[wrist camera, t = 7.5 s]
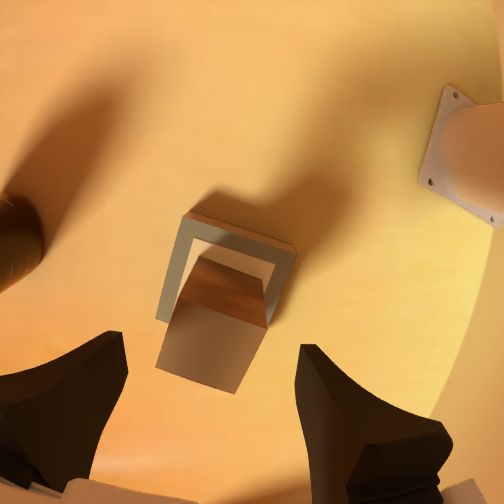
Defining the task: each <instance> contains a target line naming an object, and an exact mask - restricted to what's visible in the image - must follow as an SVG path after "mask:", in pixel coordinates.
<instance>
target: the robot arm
mask: <svg viewBox="0 0 504 504" xmlns="http://www.w3.org/2000/svg"><path fill="white" fill-rule="evenodd" d="M453 93H454V94H455V96H456V98H454V96H453ZM429 179H431V181H432V182H431V185H429V183H428V180H429ZM418 182H419V184H420V185H421V186H423V187H425V188H427V189H429V190H431V191H433V192H434V193H436V194H438V195H440V196H442V197H444V198H445V199H447V200H449V201H451V202H452V203H454V204H456V205H458V206H459V207H461V208H463V209H464V210H466V211H468V212H469V213H471V214H473V215H474V216H476V217H478V218H479V219H481V220H482V221H484V222H486V223H487V224H489V225H490V226H492V227H493V228H495V229H498V230H499V229H501V227H502V226H503V223H504V102H500V103H493V104H486V105H479V106H478V105H477V104H476V103H474V102H473V101H472V100H470V99H469V98H468V97H466V96H465V95H464V94H462V93H461V92H459V91H458V90H456V89H455V88H454V87H452V86H450V85H448V86H445V87H444V88H443V92H442V96H441V100H440V104H439V108H438V111H437V115H436V119H435V122H434V126H433V130H432V133H431V136H430V140H429V143H428V146H427V150H426V153H425V156H424V159H423V162H422V165H421V168H420V171H419V174H418ZM491 217H492V220H491ZM127 375H128V367H127V361H126V355H125V349H124V342H123V336H122V332H117V331H107V332H104V333H102V334H101V335H99V336H97V337H95V338H94V339H92V340H90V341H88V342H87V343H85V344H83V345H81V346H80V347H78V348H76V349H74V350H72V351H70V352H69V353H67V354H65V355H63V356H61V357H59V358H57V359H55V360H52V361H50V362H48V363H45V364H43V365H40V366H37V367H35V368H31V369H28V370H24V371H21V372H17V373H13V374H8V375H2V376H0V504H199V503H197V502H193V501H188V500H184V499H180V498H175V497H168V496H162V495H156V494H150V493H145V492H140V491H135V490H130V489H126V488H121V487H117V486H113V485H109V484H105V483H102V482H98V481H94V480H89V475H90V470H91V467H92V463H93V459H94V456H95V452H96V449H97V446H98V443H99V440H100V437H101V434H102V432H103V429H104V427H105V425H106V423H107V421H108V419H109V417H110V415H111V413H112V411H113V409H114V407H115V405H116V403H117V401H118V399H119V397H120V395H121V393H122V390H123V387H124V384H125V381H126V378H127ZM294 385H295V396H296V405H297V409H298V414H299V418H300V422H301V426H302V430H303V434H304V438H305V442H306V447H307V452H308V459H309V468H310V478H311V490H312V504H487V502H486V501H485V499H484V497H483V495H482V493H481V491H480V490H479V488H478V486H477V484H476V482H475V481H474V479H468V480H466V481H463V482H460V483H458V484H455V485H452V486H450V487H447V488H445V489H444V490H443V491H441V492H439V489H438V487H437V485H439V483H440V479H439V477H438V475H437V473H438V471H439V470H440V469H441V467H442V466H443V464H444V463H445V461H446V460H447V459H448V457H449V455H450V453H451V451H452V448H453V442H452V439H451V437H450V436H449V434H448V432H447V431H446V429H445V428H444V426H443V424H442V423H441V422H439V421H435V420H432V419H428V418H424V417H421V416H417V415H415V414H412V413H409V412H407V411H404V410H402V409H399V408H397V407H395V406H393V405H391V404H389V403H387V402H385V401H383V400H381V399H380V398H378V397H376V396H375V395H373V394H372V393H370V392H368V391H367V390H365V389H364V388H363V387H361V386H360V385H359V384H357V383H356V382H355V381H354V380H352V379H351V378H350V377H349V376H347V375H346V374H345V373H344V372H343V371H342V370H341V369H340V368H339V367H338V366H337V365H336V364H334V363H333V362H332V361H331V360H330V358H329V357H328V356H327V355H326V354H325V353H324V352H323V351H322V350H321V349H320V348H319V347H318V346H317V345H316V344H301V345H300V351H299V358H298V365H297V371H296V377H295V383H294Z"/></svg>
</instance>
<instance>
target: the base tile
mask: <svg viewBox="0 0 504 504" xmlns="http://www.w3.org/2000/svg"><path fill="white" fill-rule="evenodd" d="M198 256H202V257H204V258H207V259H209V260H212V261H215V262H217V263H220V264H222V265H225V266H228V267H230V268H233V269H235V270H238V271H241V272H243V273H246V274H249V275H251V276H254V277H257V278H259V279H262V282H263V291H264V300H265V309H266V319H267V327H268V325H269V322H270V320H271V317H272V315H273V313H274V310H275V308H276V305H277V303H278V301H279V298H280V296H281V293H282V291H283V288H284V286H285V283H286V281H287V278H288V276H289V273H290V271H291V268H292V266H293V263H294V261H295V258H296V256H297V253H296V251H295V249H294V247H293V245H290V244H287V243H284V242H281V241H278V240H275V239H272V238H269V237H266V236H263V235H260V234H257V233H254V232H251V231H248V230H245V229H243V228H240V227H237V226H233V225H230V224H227V223H224V222H221V221H218V220H215V219H212V218H209V217H206V216H203V215H200V214H197V213H194V212H191V211H188V212H187V213H186V214H185V215H183V217H182V220H181V223H180V227H179V230H178V234H177V237H176V241H175V244H174V248H173V251H172V255H171V259H170V262H169V266H168V270H167V274H166V278H165V281H164V285H163V289H162V293H161V297H160V301H159V305H158V309H157V314H156V318H155V319H158V320H160V321H163V322H166V323H170V320H171V317H172V314H173V311H174V308H175V305H176V302H177V299H178V296H179V294H180V292H181V290H182V288H183V286H184V284H185V282H186V280H187V278H188V276H189V274H190V272H191V270H192V268H193V266H194V264H195V262H196V260H197V258H198Z"/></svg>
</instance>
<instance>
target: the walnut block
mask: <svg viewBox="0 0 504 504" xmlns="http://www.w3.org/2000/svg"><path fill="white" fill-rule="evenodd" d="M267 330H268V328H267V319H266V309H265V300H264V291H263V282H262V279H259V278H257V277H254V276H251V275H249V274H246V273H243V272H241V271H238V270H235V269H233V268H230V267H228V266H225V265H222V264H220V263H217V262H215V261H212V260H209V259H207V258H204V257H202V256H198V258H197V260H196V262H195V264H194V266H193V268H192V270H191V272H190V274H189V276H188V278H187V280H186V282H185V284H184V286H183V288H182V290H181V292H180V294H179V296H178V299H177V302H176V305H175V308H174V311H173V314H172V317H171V320H170V323H169V326H168V329H167V332H166V335H165V338H164V341H163V344H162V347H161V351H160V354H159V357H158V360H157V363H156V368H159V369H161V370H164V371H166V372H169V373H172V374H175V375H177V376H180V377H183V378H186V379H188V380H191V381H194V382H197V383H200V384H203V385H206V386H209V387H212V388H215V389H219V390H222V391H225V392H228V393H231V394H235V393H236V391H237V389H238V387H239V385H240V383H241V381H242V379H243V377H244V375H245V373H246V372H247V370H248V368H249V366H250V364H251V362H252V360H253V358H254V356H255V354H256V352H257V350H258V348H259V346H260V344H261V342H262V340H263V338H264V336H265V334H266V332H267Z"/></svg>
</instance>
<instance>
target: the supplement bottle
mask: <svg viewBox="0 0 504 504" xmlns="http://www.w3.org/2000/svg"><path fill="white" fill-rule="evenodd" d="M42 251H43V231H42V227H41V223H40V220H39V218H38V215H37V213H36V212H35V210H34V208H33V207H32V206H31V204H30V203H29V202H28V201H27V200H26V199H24V198H23V197H21V196H20V195H17V194H14V193H4V194H0V294H1V293H2V292H4V291H5V290H7V289H8V288H9V287H11V286H12V285H14V284H15V283H17V282H18V281H20V280H21V279H23V278H24V277H26V276H27V275H28V274H30V273H31V272H32V271H33V270H34V269H35V268H36V267H37V265H38V263H39V261H40V259H41V256H42Z"/></svg>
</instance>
